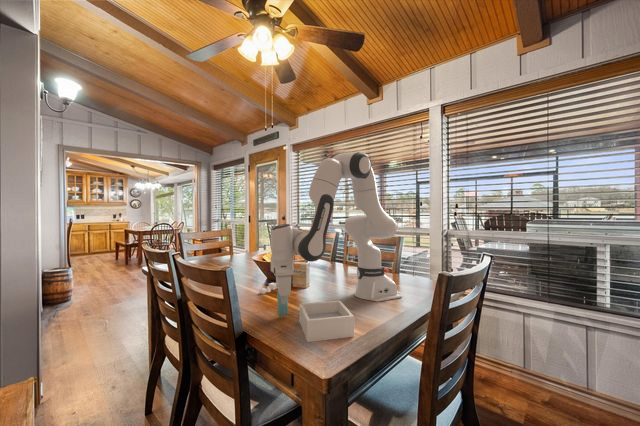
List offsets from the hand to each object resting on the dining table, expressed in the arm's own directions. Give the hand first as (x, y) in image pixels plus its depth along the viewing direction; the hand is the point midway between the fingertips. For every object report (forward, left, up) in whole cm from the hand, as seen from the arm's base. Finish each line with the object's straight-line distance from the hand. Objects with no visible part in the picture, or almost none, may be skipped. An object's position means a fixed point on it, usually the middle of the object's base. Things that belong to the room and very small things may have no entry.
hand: (282, 301), depth 113 cm
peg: (0, 0, -5) cm, 5 cm away
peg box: (-14, +13, -7) cm, 20 cm away
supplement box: (-14, -40, -7) cm, 43 cm away
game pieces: (+4, -36, -7) cm, 37 cm away
